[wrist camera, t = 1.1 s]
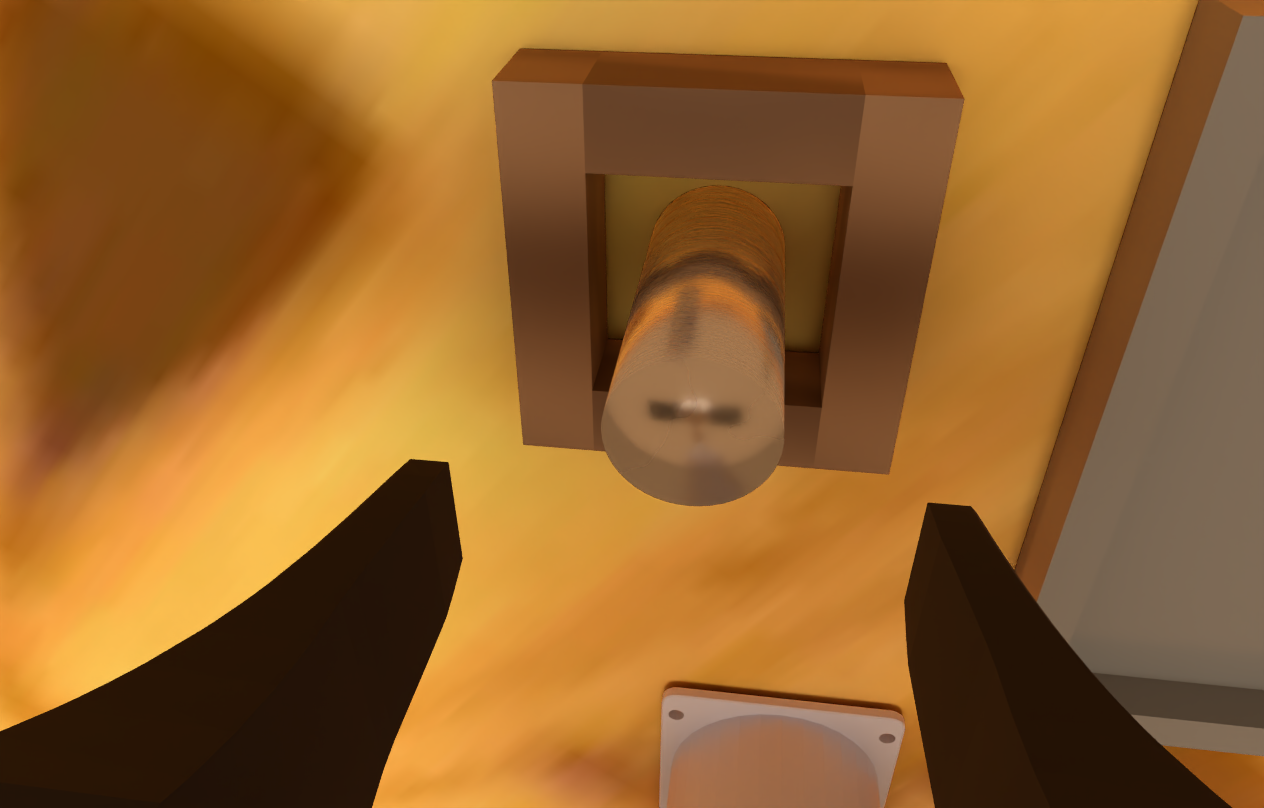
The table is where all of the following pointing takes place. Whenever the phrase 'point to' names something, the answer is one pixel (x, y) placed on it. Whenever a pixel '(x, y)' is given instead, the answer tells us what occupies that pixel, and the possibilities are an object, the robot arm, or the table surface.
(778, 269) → the pin
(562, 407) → the socket block
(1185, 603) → the tray
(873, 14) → the table surface
